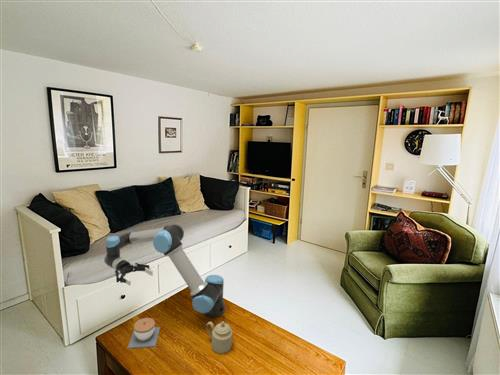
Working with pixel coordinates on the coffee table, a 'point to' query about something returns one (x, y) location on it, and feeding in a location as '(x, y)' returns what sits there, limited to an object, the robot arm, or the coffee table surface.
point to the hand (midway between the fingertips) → (141, 278)
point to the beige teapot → (220, 337)
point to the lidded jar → (144, 328)
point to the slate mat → (147, 343)
